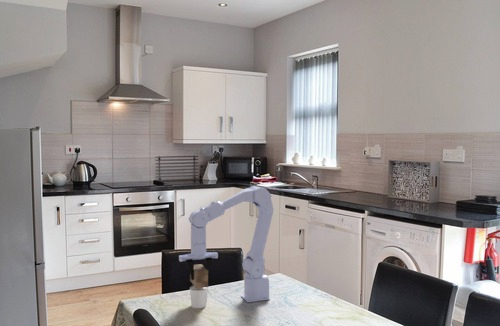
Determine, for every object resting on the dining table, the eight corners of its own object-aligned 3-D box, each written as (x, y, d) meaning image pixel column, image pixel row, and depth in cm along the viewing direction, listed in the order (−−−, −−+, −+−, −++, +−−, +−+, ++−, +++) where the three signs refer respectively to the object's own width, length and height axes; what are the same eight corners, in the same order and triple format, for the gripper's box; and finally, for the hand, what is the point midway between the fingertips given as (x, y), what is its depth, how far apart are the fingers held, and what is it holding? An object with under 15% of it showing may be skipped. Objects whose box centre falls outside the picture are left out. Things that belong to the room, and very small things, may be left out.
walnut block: (201, 279, 174) (201, 264, 174) (208, 286, 165) (208, 270, 164) (190, 280, 172) (189, 265, 172) (196, 288, 163) (196, 272, 163)
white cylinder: (205, 309, 165) (204, 290, 164) (187, 308, 166) (187, 289, 166) (210, 303, 172) (210, 285, 171) (193, 301, 173) (193, 283, 173)
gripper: (181, 246, 162) (181, 283, 162) (220, 243, 167) (220, 279, 167) (177, 242, 168) (178, 278, 169) (214, 239, 173) (215, 274, 174)
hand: (198, 278), depth 168 cm, fingers closed on walnut block, 4 cm apart
